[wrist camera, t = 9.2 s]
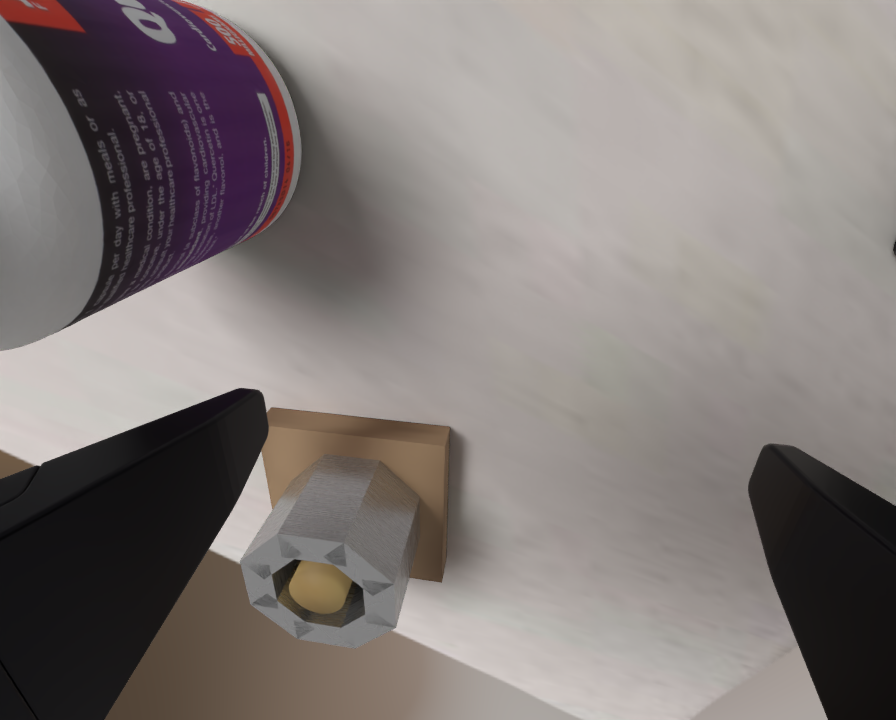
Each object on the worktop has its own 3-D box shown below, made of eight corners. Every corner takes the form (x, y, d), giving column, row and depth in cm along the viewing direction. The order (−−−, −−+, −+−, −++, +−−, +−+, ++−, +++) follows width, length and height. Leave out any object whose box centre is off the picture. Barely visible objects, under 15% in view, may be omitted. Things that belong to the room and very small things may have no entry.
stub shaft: (449, 427, 24) (422, 529, 18) (446, 559, 28) (423, 677, 22) (271, 407, 25) (193, 498, 19) (293, 537, 29) (234, 644, 24)
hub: (419, 465, 23) (392, 549, 19) (420, 563, 26) (397, 655, 22) (286, 449, 24) (231, 527, 20) (302, 546, 27) (257, 632, 23)
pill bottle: (304, 12, 17) (-359, -235, 4) (317, 246, 21) (-20, 475, 8) (87, -1, 18) (-991, -239, 5) (137, 226, 22) (-420, 405, 9)
